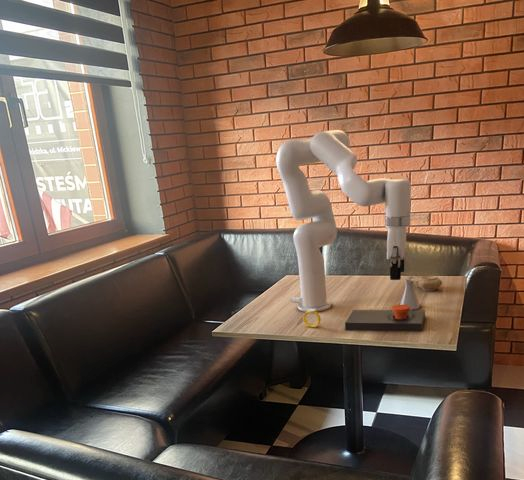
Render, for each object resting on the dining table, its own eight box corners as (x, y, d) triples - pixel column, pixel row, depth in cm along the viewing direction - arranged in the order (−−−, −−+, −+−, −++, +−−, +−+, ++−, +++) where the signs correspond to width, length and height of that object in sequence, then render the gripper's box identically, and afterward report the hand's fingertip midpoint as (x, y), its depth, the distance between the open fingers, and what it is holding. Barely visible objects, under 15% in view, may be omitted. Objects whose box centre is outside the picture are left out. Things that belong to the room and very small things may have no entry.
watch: (302, 327, 183) (301, 310, 181) (306, 324, 185) (305, 308, 183) (318, 328, 179) (317, 311, 177) (322, 326, 182) (320, 309, 179)
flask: (420, 310, 186) (420, 282, 183) (399, 311, 188) (399, 283, 185) (419, 304, 193) (419, 277, 190) (398, 305, 195) (398, 278, 191)
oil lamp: (407, 285, 219) (407, 273, 217) (444, 285, 213) (444, 273, 211) (402, 292, 210) (402, 280, 208) (441, 292, 204) (441, 279, 202)
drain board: (345, 330, 175) (345, 322, 174) (353, 316, 187) (353, 309, 186) (421, 331, 167) (421, 323, 166) (424, 317, 179) (424, 310, 178)
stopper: (391, 326, 174) (391, 309, 172) (393, 320, 179) (393, 304, 177) (409, 326, 172) (409, 309, 170) (410, 321, 177) (410, 304, 175)
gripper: (389, 217, 173) (388, 269, 180) (381, 226, 158) (381, 282, 165) (413, 216, 171) (412, 269, 177) (407, 225, 156) (406, 283, 162)
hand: (397, 275), depth 171 cm, fingers open, 9 cm apart
